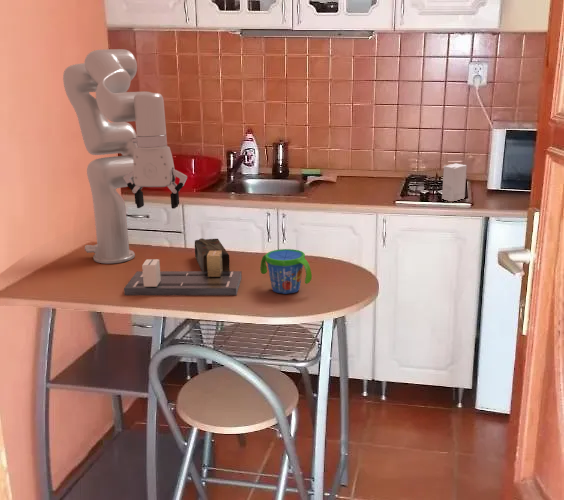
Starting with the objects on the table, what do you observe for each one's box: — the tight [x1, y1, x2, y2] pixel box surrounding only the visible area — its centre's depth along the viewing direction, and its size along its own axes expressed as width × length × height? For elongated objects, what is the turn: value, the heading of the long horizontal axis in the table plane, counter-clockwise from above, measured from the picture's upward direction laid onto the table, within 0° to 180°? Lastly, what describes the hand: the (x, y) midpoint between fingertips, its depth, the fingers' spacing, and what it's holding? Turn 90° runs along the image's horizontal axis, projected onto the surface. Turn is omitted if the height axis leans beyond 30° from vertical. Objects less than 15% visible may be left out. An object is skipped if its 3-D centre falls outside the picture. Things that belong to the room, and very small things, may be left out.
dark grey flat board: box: [123, 270, 242, 296], centre depth 188 cm, size 30×14×2 cm, turn 88°
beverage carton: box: [194, 237, 231, 271], centre depth 206 cm, size 8×19×7 cm, turn 15°
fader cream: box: [141, 258, 161, 287], centre depth 184 cm, size 4×5×6 cm
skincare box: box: [441, 162, 468, 202], centre depth 283 cm, size 8×6×15 cm
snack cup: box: [260, 248, 313, 295], centre depth 183 cm, size 16×10×10 cm
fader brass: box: [207, 251, 223, 277], centre depth 191 cm, size 4×5×6 cm
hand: (157, 207), depth 180 cm, fingers open, 9 cm apart
